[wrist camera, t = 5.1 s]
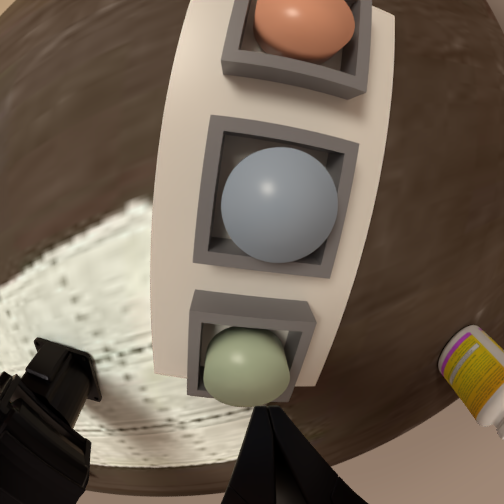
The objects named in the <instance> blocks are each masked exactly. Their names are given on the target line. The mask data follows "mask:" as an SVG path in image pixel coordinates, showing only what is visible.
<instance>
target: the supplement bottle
mask: <svg viewBox="0 0 504 504" xmlns="http://www.w3.org/2000/svg"><path fill="white" fill-rule="evenodd" d="M438 368H439V371H440V372H441V374H442V375H443V377H444V378H445V379H446V380H447V382H448V383H449V384H450V386H451V387H452V388H453V390H454V391H455V392H456V393H457V395H458V396H459V397H460V399H461V400H462V401H463V403H464V404H465V406H466V407H467V408H468V410H469V411H470V413H471V414H472V415H473V417H474V418H475V420H476V421H477V422H478V424H479V425H481V426H484V427H486V426H490V425H492V424H494V425H495V426H496V428H497V429H496V430H497V434H498V435H499V437H500V438H501V439H502V440H503V439H504V350H503V349H502V348H501V347H500V346H499V345H498V344H497V343H496V342H495V341H494V340H493V339H491V338H490V337H489V336H488V335H487V334H486V333H485V332H484V331H483V330H482V329H480V328H479V327H478V326H476V325H471V326H467V327H465V328H463V329H462V330H460V331H459V332H458V333H457V334H455V335H454V336H453V338H452V339H451V340H450V341H449V342H448V344H447V345H446V346H445V348H444V350H443V351H442V353H441V356H440V358H439V363H438Z"/></svg>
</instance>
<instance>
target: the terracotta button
mask: <svg viewBox="0 0 504 504" xmlns="http://www.w3.org/2000/svg"><path fill="white" fill-rule="evenodd" d="M354 29H355V21H354V17H353V14H352V12H351V10H350V8H349V6H348V5H347V3H346V2H345V1H344V0H257V3H256V9H255V15H254V22H253V33H254V36H255V39H256V41H257V43H258V44H259V46H260V47H261V48H262V49H263V50H264V51H265V52H266V53H267V54H271V55H277V56H282V57H287V58H291V59H296V60H300V61H305V62H309V63H313V64H316V65H319V64H322V63H324V62H326V61H327V60H329V59H330V58H331V57H332V56H333V55H335V54H336V53H337V52H338V51H339V50H340V49H341V48H342V47H344V46H345V45H346V44H347V43H348V42H349V41H350V39H351V38H352V36H353V33H354Z"/></svg>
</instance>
